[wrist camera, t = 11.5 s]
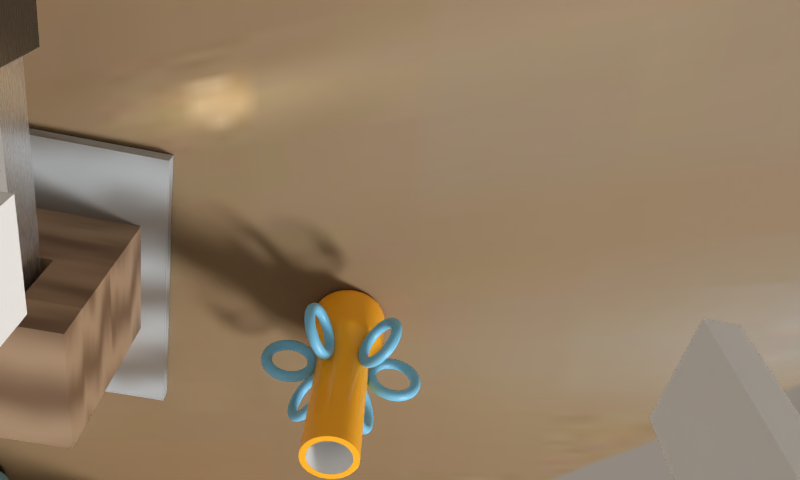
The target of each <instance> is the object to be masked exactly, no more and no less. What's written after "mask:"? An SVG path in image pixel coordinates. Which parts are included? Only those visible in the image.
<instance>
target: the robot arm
mask: <svg viewBox="0 0 800 480" xmlns="http://www.w3.org/2000/svg"><path fill="white" fill-rule="evenodd" d="M26 315H27V308H26V299H25V289H24V280H23V271H22V261H21V252H20V243H19V234H18V224H17V215H16V206H15V196H14V194H12V193H6V192H1V191H0V347H1V345H2V344H3V343H4V342H5V341H6V339H7V338H8V337H9V336H10V334H11V333H12V332H13V331H14V330H15V328H16V327H17V326H18V325H19V323H20V322H21V321H22V320H23V319H24V317H25V316H26ZM649 419H650V421H651V424H652V426H653V429H654V431H655V434H656V436H657V439H658V441H659V444H660V446H661V449H662V451H663V454H664V456H665V459H666V461H667V464H668V466H669V469H670V471H671V474H672V476H673V479H674V480H800V415H799V413H798V412H797V410H796V409H795V407H794V406H793V404H792V403H791V401H790V400H789V398H788V397H787V395H786V394H785V392H784V391H783V389H782V388H781V386H780V385H779V383H778V382H777V380H776V379H775V377H774V376H773V374H772V373H771V371H770V370H769V368H768V367H767V365H766V363H765V362H764V360H763V359H762V357H761V356H760V354H759V353H758V351H757V350H756V348H755V347H754V345H753V344H752V342H751V341H750V339H749V338H748V336H747V335H746V333H745V332H744V330H743V329H742V327H741V326H740V325H738V324H732V323H727V322H721V321H716V320H710V319H705V318H703V319H702V321H701V323H700V325H699V327H698V329H697V330H696V332H695V334H694V336H693V338H692V340H691V341H690V343H689V345H688V347H687V349H686V351H685V353H684V354H683V356H682V358H681V360H680V362H679V364H678V365H677V367H676V369H675V371H674V373H673V375H672V376H671V378H670V380H669V382H668V384H667V386H666V388H665V389H664V391H663V393H662V395H661V397H660V399H659V400H658V402H657V404H656V406H655V408H654V410H653V412H652V413H651V415H650V417H649Z"/></svg>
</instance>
